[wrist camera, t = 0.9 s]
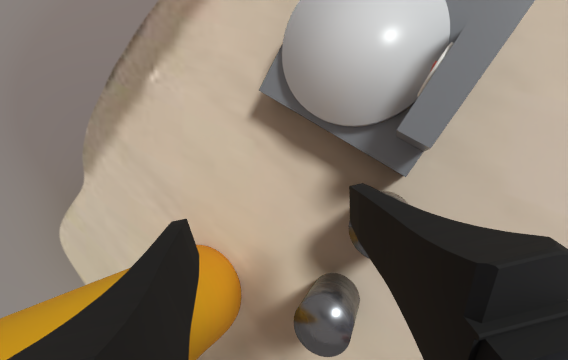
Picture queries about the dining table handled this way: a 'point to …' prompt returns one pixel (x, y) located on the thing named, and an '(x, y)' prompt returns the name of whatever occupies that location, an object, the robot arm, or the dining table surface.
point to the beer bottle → (54, 312)
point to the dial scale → (387, 67)
